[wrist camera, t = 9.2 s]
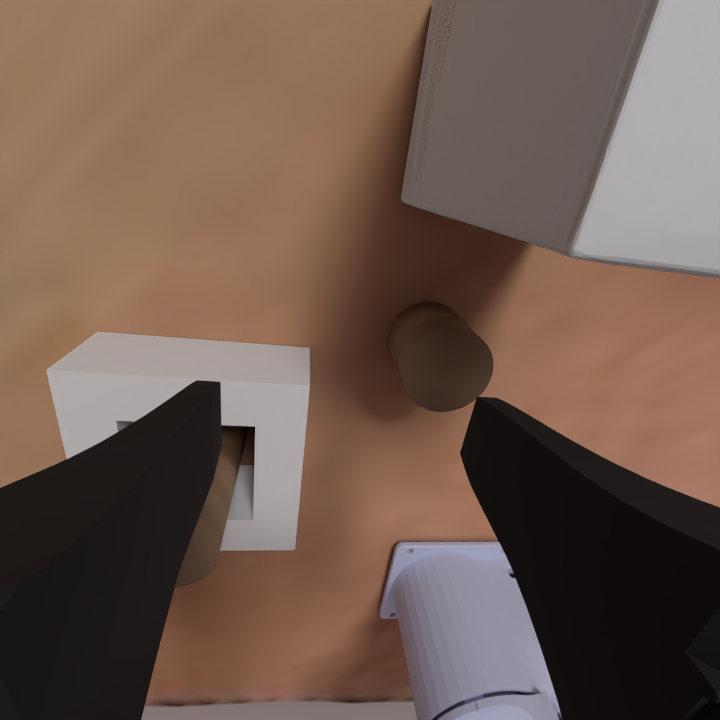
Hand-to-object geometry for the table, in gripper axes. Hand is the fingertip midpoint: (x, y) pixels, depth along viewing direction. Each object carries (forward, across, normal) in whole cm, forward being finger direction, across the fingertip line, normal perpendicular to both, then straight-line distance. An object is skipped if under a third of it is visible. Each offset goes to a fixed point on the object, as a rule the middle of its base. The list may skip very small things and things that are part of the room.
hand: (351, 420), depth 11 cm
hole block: (+9, +6, +7) cm, 13 cm away
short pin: (+10, -5, +1) cm, 11 cm away
